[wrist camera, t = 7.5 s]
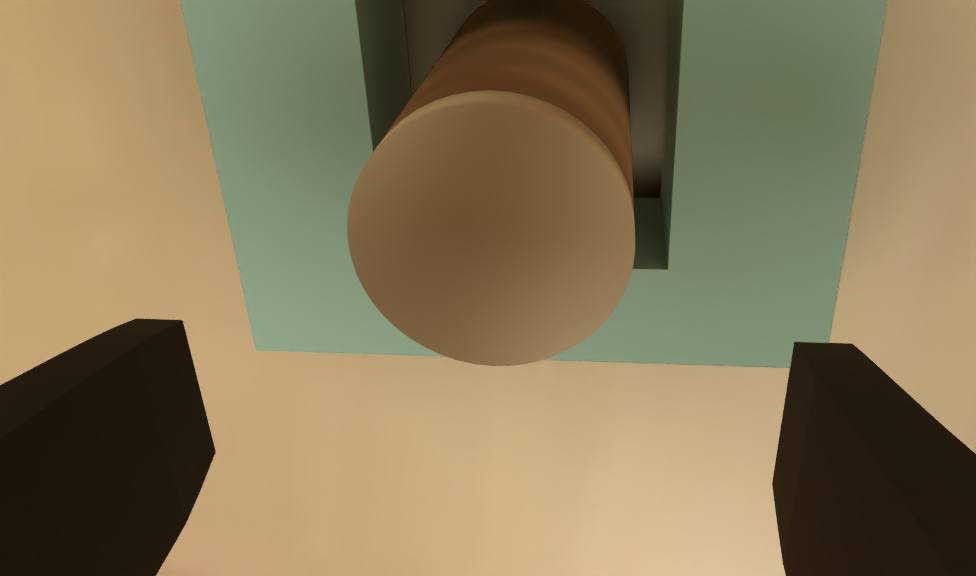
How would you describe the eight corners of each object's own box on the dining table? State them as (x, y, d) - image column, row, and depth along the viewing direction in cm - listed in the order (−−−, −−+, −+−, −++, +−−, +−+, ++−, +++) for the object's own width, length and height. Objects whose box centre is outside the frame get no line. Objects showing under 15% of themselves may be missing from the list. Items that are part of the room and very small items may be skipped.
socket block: (862, -202, 15) (922, -204, 12) (793, 284, 20) (824, 369, 17) (229, -168, 17) (145, -161, 14) (306, 275, 22) (255, 350, 19)
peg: (633, -13, 18) (643, 106, 11) (623, 171, 19) (627, 372, 13) (440, -12, 18) (331, 101, 11) (450, 167, 20) (361, 358, 13)
